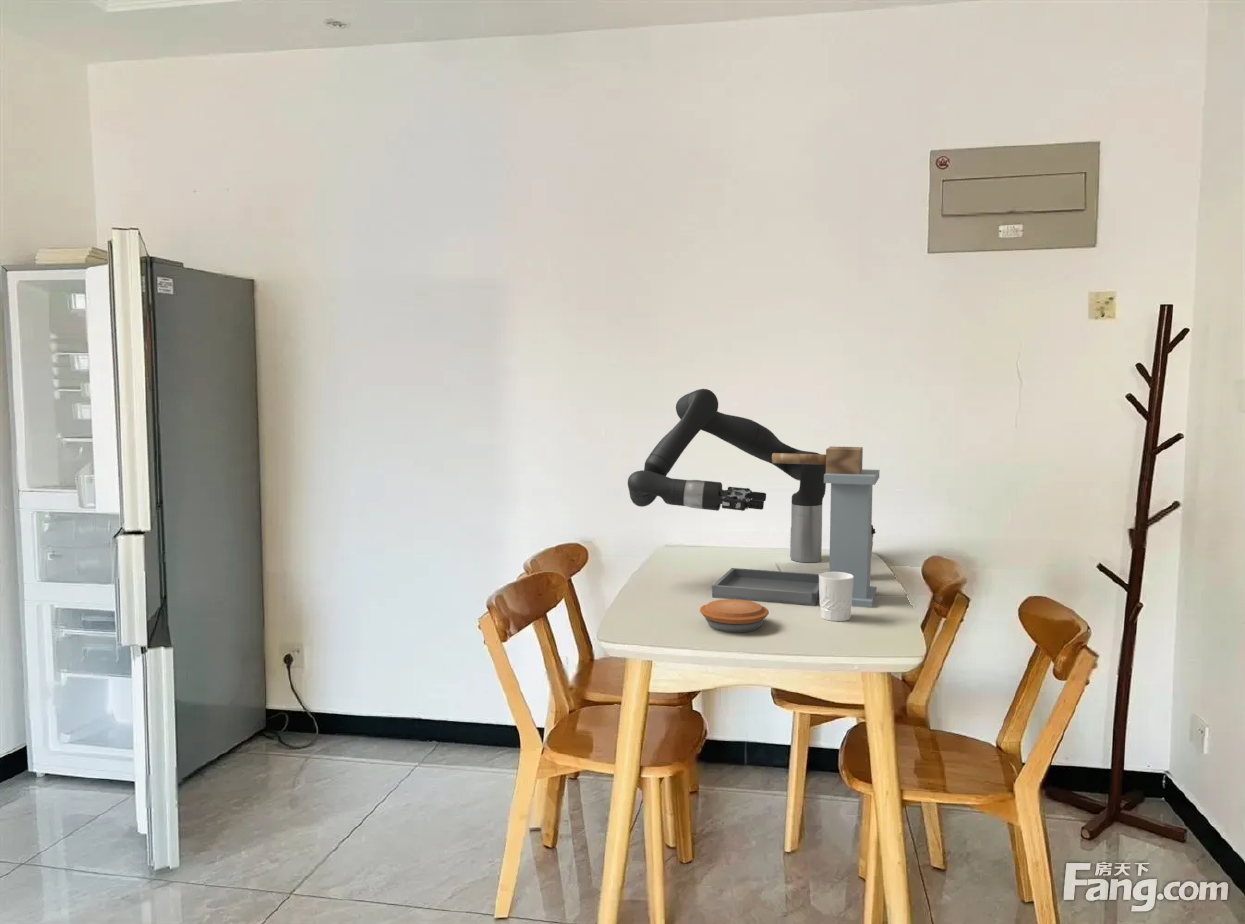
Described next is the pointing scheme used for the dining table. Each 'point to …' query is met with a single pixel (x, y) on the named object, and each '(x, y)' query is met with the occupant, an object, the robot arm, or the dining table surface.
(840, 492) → the pedestal
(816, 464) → the robot arm
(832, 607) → the white cup
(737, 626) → the pie
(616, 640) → the dining table surface
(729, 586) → the tray
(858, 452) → the mallet
